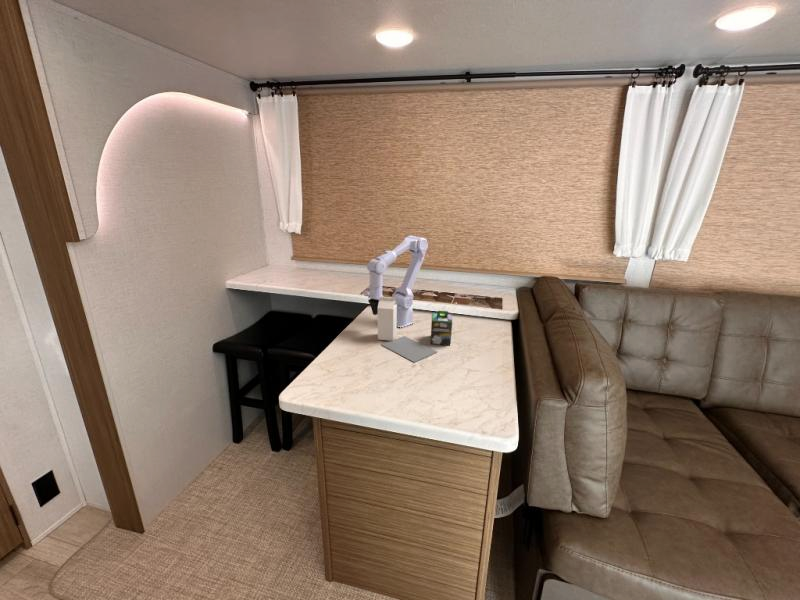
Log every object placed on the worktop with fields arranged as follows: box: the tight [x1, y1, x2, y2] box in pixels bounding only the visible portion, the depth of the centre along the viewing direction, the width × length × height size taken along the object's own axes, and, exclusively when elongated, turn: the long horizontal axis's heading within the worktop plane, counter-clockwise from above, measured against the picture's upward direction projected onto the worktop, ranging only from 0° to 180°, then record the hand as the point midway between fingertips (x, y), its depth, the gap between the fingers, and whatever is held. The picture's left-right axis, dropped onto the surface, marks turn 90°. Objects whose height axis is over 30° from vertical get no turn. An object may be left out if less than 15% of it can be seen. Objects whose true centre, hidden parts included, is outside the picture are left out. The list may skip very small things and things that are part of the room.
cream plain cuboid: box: [377, 296, 398, 342], centre depth 157 cm, size 7×7×19 cm
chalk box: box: [429, 310, 453, 346], centre depth 157 cm, size 9×9×15 cm
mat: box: [381, 335, 438, 364], centre depth 150 cm, size 14×20×1 cm
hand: (375, 314), depth 163 cm, fingers closed
